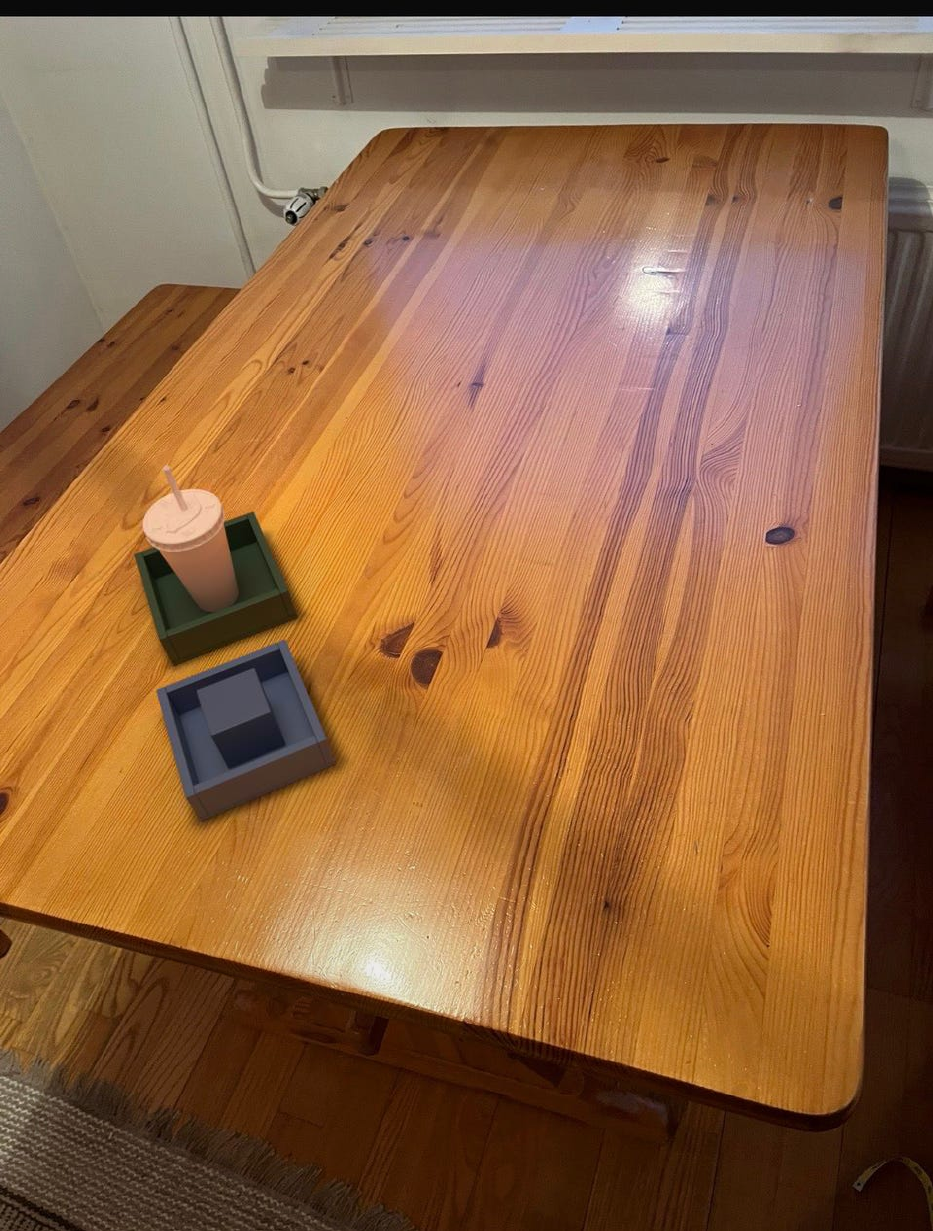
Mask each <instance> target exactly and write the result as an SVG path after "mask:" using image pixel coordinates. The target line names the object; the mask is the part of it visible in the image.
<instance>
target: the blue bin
mask: <svg viewBox="0 0 933 1231" xmlns="http://www.w3.org/2000/svg"><path fill="white" fill-rule="evenodd" d="M252 668H255V670H256V672H257V675H258V677H259V679H260V681H261V684H262V686H263V688H264V690H265V693H266V695H267V697H268V699H269V702H270V704H271V707H272V710H273V712H274V715H275V717H276V720H277V723H278V725H279V728H280V731H281V733H282V736H283V739H284V741H285V745H284V746H282V747H279V748H277V749H274V750H272V751H270V752H267V753H265V754H262V755H260V756H258V757H255V758H253V759H250V760H248V761H246V762H243V763H241V764H238V765H236V766H234V767H231V768H228V767H227V765H226V763H225V761H224V759H223V757H222V756H221V754H220V752H219V750H218V748H217V747H216V745H215V743H214V741H213V739H212V738H211V736H210V733H209V729H208V726H207V723H206V720H205V717H204V714H203V710H202V707H201V704H200V701H199V698H198V695H197V690H199V689H202V688H204V687H207V686H209V685H212V684H214V683H217V682H219V681H222V680H224V679H227V678H229V677H232V676H234V675H237V674H239V673H242V672H244V671H247V670H250V669H252ZM155 690H156V695H157V696H156V697H157V699H158V703H159V707H160V709H161V713H162V717H163V721H164V725H165V728H166V731H167V736H168V739H169V743H170V747H171V750H172V752H173V753H172V754H173V757H174V761H175V764H176V768H177V771H178V776H179V778H180V783H181V786H182V789H183V793H184V797H185V799H186V800H187V802H188V804H189V805H190V806H191V808H192V810H193V812H194V813H195V814H196V816H197V818H198V820H200V822H204V821H206V820H208V819H211V818H214V817H215V816H217V815H220V814H222V813H225V812H227V811H230V810H231V809H234V808H236V807H239V806H241V805H244V804H246V803H248V802H251V801H253V800H255V799H258V798H260V797H262V796H266V795H267V794H269V793H271V792H274V791H277V790H278V789H281V788H283V787H286V786H288V785H290V784H292V783H295V782H298V781H300V780H302V779H304V778H308V777H309V776H313V775H314V774H317V773H320V772H321V771H323V770H326V769H328V768H330V767H333V766H335V765H337V762H336V760H335V757H334V755H333V752H332V749H331V746H330V744H329V741H328V739H327V736H326V733H325V731H324V728H323V726H322V724H321V722H320V720H319V717H318V715H317V712H316V709H315V708H314V705H313V703H312V700H311V697H310V696H309V693H308V691H307V687H306V686H305V683H304V680H303V678H302V676H301V674H300V671H299V669H298V666H297V664H296V661H295V659H294V656H293V654H292V652H291V650H290V647H289V645H288V642H287V639H282V640H280V641H278V642H277V641H276V642H274V643H272V644H269V645H267V646H264V647H261V648H259V649H257V650H254V651H251V652H249V653H246V654H244V655H242V656H238V657H236V658H233V659H231V660H228V661H226V662H223V663H221V664H219V665H215V666H214V667H211V668H208V669H206V670H203V671H200V672H198V673H195V674H193V675H190V676H188V677H185V678H183V679H180V680H177V681H175V682H173V683H170V684H167V685H165V686H163V687H160V688H157V689H155Z"/></svg>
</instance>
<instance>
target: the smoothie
mask: <svg viewBox="0 0 933 1231" xmlns="http://www.w3.org/2000/svg"><path fill="white" fill-rule="evenodd" d="M162 472H163V474H164V476H165V478H166V480H167V482H168V485H169V487H170V489H171V493H169V494H166V495H164V496H162V497H161V498H160V499H158V500H157V501H155V502H154V503H153V504H152V505H151V506H150V507H149V508H148V509H147V510H146V512H145V514H144V516H143V519H142V530H143V533H144V534H145V538H146V540H147V542H148V543H149V544H150V545H151V547H155V548H157V549H158V550H159V551H160V552H161V554H162V555H163V557H164V558H165V559H166V561H167V562H168V563H169V565H170V566H171V568H172V569H173V571H174V572H175V573H176V575H177V576H178V578H179V579H180V581H181V582H182V583H183V585H184V586H185V588H186V589H187V590H188V592H189V593H190V595H191V596H192V598H193V599H194V600H195V602H196V603H197V605H198V606H199V607H200V608H201V609H202V610H204V611H207V612H217V611H220V610H222V609H225V608H228V607H230V606H231V605H232V604H234V602H235V601H236V600H237V598H238V595H239V589H238V585H237V581H236V576H235V572H234V568H233V563H232V559H231V555H230V550H229V546H228V541H227V537H226V532H225V528H224V522H225V521H226V512H225V509H224V506H223V505H222V503H221V501H220V499H219V498H218V496H216V495H215V494H214V493H212V492H211V491H208V490H205V489H199V488H187V489H181V490H180V487H179V485H178V483H177V481H176V478H175V476H174V474H173V471H172V469H171V467H170V465H165V466H163V467H162Z"/></svg>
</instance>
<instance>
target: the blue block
mask: <svg viewBox="0 0 933 1231" xmlns="http://www.w3.org/2000/svg"><path fill="white" fill-rule="evenodd" d="M197 695H198V698H199V701H200V704H201V707H202V710H203V714H204V717H205V720H206V723H207V726H208V729H209V733H210V736H211V738H212V739H213V741H214V743H215V745H216V747H217V748H218V750H219V752H220V754H221V756H222V757H223V759H224V761H225V763H226V765H227V767H228V768H231V767H234V766H236V765H238V764H241V763H243V762H246V761H248V760H250V759H253V758H255V757H258V756H260V755H262V754H265V753H267V752H270V751H272V750H274V749H277V748H279V747H282V746H284V745H285V741H284V739H283V736H282V733H281V731H280V728H279V725H278V723H277V720H276V717H275V715H274V712H273V710H272V707H271V704H270V702H269V699H268V697H267V695H266V693H265V690H264V688H263V686H262V684H261V681H260V679H259V677H258V675H257V672H256V670H255V668H252V669H250V670H247V671H244V672H242V673H239V674H237V675H234V676H232V677H229V678H227V679H224V680H222V681H219V682H217V683H214V684H212V685H209V686H207V687H204V688H202V689H199V690H197Z"/></svg>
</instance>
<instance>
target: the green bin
mask: <svg viewBox="0 0 933 1231" xmlns="http://www.w3.org/2000/svg"><path fill="white" fill-rule="evenodd" d="M224 528H225V532H226V537H227V541H228V546H229V550H230V555H231V559H232V563H233V568H234V572H235V576H236V581H237V585H238V589H239V595H238V598H237V600H236V601H235V602H234V604H232V605H231V606H230V607H228V608H225V609H222V610H220V611H217V612H207V611H204V610H202V609H201V608H200V607H199V606H198V605H197V603H196V602H195V600H194V599H193V598H192V596H191V595H190V593H189V592H188V590H187V589H186V588H185V586H184V585H183V583H182V582H181V581H180V579H179V578H178V576H177V575H176V573H175V572H174V571H173V569H172V568H171V566H170V565H169V563H168V562H167V561H166V559H165V558H164V557H163V555H162V554H161V552H160V551H159V550H158V549H157V548H155V547H153V546H151V547H150V548H148V549H147V548H146V549H144V550H142V551H139V552H136V553H134V554H133V556H134V559H135V562H136V563H135V564H136V566H137V570H138V573H139V576H140V580H141V584H142V587H143V590H144V593H145V597H146V600H147V604H148V607H149V610H150V614H151V617H152V621H153V624H154V627H155V631H156V635H157V637H158V641H159V642H160V644H161V646H162V649H163V650H164V651H165V653H166V655H167V657H168V659H169V661H170V662H171V664H172V666H174V667H175V666H177V665H180V664H182V663H185V662H188V661H190V660H193V659H196V658H198V657H201V656H203V655H205V654H208V653H211V652H214V651H216V650H218V649H221V648H224V647H226V646H229V645H231V644H234V643H236V642H239V641H242V640H245V639H248V638H249V637H253V636H254V635H258V634H259V633H262V632H265V631H267V630H270V629H272V628H275V627H278V626H281V625H283V624H286V623H288V622H290V621H293V620H296V619H298V618H299V616H298V613H297V610H296V607H295V605H294V601H293V599H292V596H291V594H290V590H289V589H288V586H287V584H286V582H285V580H284V577H283V574H282V573H281V570H280V568H279V565H278V563H277V562H276V558H275V557H274V555H273V552H272V550H271V548H270V545H269V543H268V541H267V539H266V536H265V533H264V532H263V529H262V527H261V525H260V523H259V520H258V518H257V515H256V513H255V511H250V512H246V513H244V514H242V515H239V516H236V517H233V518H229V519H228V520H225V521H224Z"/></svg>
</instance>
